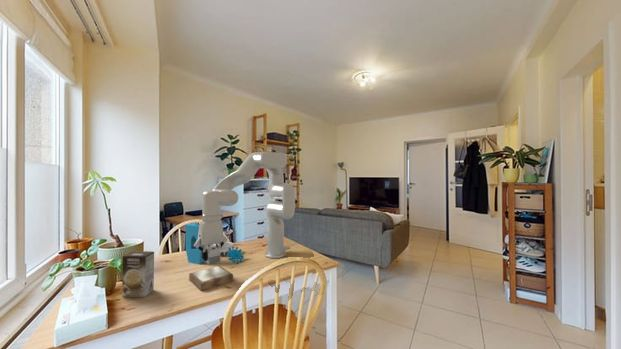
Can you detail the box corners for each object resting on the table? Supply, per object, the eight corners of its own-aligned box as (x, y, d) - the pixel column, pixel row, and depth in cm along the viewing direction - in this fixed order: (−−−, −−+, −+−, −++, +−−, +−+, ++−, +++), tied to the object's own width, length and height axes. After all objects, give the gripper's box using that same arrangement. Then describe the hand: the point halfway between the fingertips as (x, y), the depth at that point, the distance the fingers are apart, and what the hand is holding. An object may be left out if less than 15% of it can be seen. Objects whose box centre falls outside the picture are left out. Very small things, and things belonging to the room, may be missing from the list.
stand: (219, 271, 124) (219, 265, 124) (232, 281, 114) (233, 273, 114) (189, 280, 114) (189, 272, 114) (201, 291, 104) (201, 283, 104)
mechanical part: (236, 253, 152) (236, 233, 152) (217, 258, 143) (218, 237, 142) (226, 249, 159) (226, 230, 159) (207, 253, 150) (208, 233, 150)
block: (184, 261, 137) (185, 224, 136) (192, 258, 141) (192, 222, 141) (202, 264, 132) (202, 226, 132) (209, 261, 137) (209, 224, 137)
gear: (230, 262, 131) (225, 246, 137) (225, 269, 134) (220, 252, 139) (248, 260, 139) (243, 244, 145) (243, 266, 142) (238, 250, 147)
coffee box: (121, 297, 98) (121, 256, 98) (132, 289, 105) (132, 250, 105) (145, 297, 99) (145, 256, 98) (154, 289, 105) (154, 250, 105)
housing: (212, 257, 118) (212, 243, 118) (220, 261, 113) (220, 247, 113) (201, 259, 115) (201, 245, 115) (208, 264, 109) (209, 249, 109)
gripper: (225, 215, 122) (225, 252, 122) (188, 219, 110) (188, 261, 111) (233, 217, 117) (232, 256, 117) (194, 222, 105) (194, 265, 105)
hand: (210, 258), depth 114 cm, fingers closed on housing, 5 cm apart
